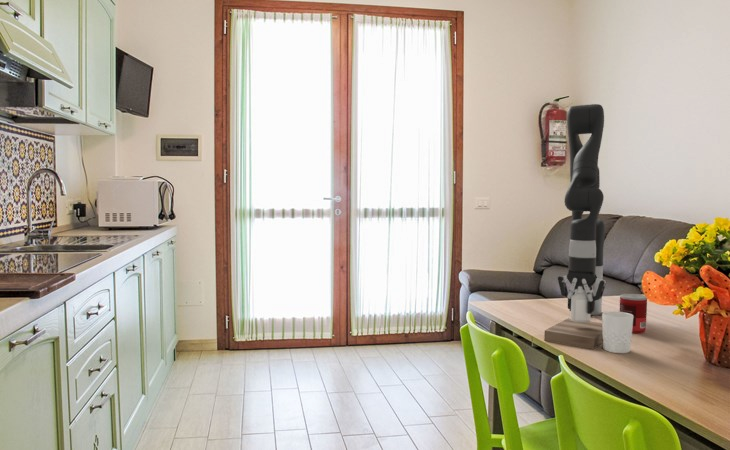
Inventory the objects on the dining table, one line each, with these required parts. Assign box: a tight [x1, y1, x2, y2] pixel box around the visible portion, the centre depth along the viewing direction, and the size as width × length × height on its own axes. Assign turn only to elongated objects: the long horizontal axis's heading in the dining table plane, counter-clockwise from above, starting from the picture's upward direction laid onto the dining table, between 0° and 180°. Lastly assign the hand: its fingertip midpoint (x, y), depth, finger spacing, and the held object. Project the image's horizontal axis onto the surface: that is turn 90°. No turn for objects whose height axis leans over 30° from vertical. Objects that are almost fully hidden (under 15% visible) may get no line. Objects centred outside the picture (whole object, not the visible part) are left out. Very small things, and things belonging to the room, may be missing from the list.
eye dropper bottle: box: [570, 286, 592, 323], centre depth 169 cm, size 4×6×12 cm
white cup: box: [601, 310, 633, 354], centre depth 157 cm, size 8×8×10 cm
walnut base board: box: [543, 317, 603, 350], centre depth 170 cm, size 20×14×3 cm
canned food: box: [619, 293, 648, 334], centre depth 178 cm, size 8×8×11 cm
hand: (580, 311), depth 170 cm, fingers closed on eye dropper bottle, 4 cm apart
